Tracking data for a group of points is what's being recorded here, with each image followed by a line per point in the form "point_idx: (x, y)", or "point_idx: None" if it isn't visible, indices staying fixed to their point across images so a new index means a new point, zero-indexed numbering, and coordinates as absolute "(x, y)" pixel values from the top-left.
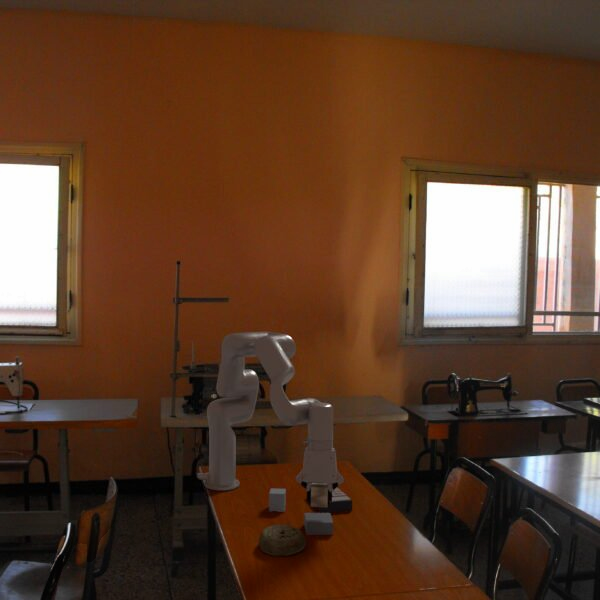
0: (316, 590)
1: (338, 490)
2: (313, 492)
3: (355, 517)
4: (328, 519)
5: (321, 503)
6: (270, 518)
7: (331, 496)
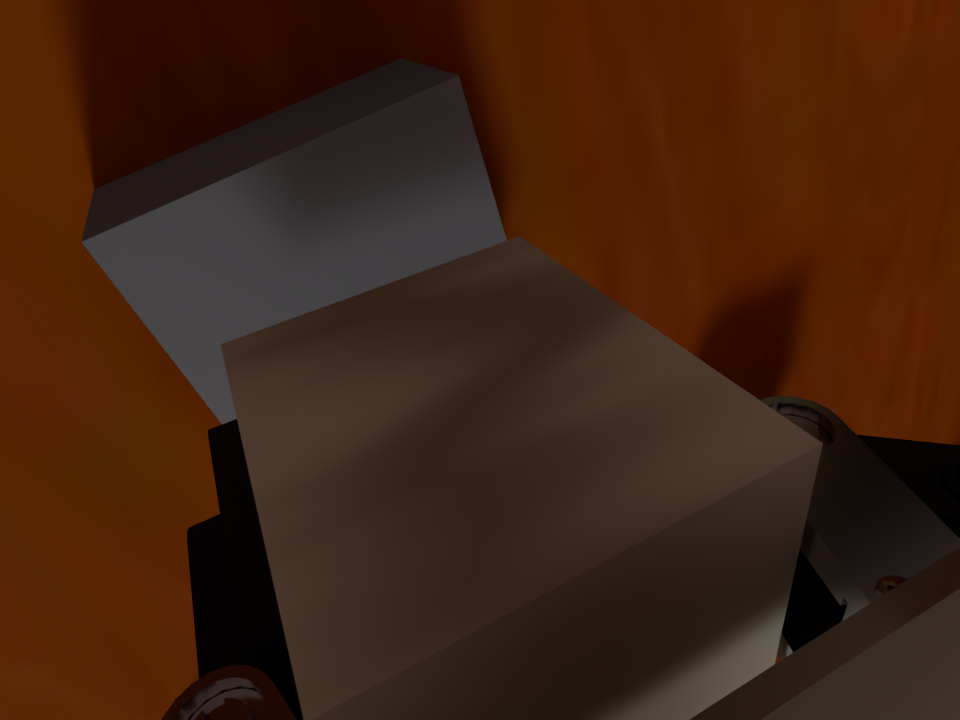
0: None
1: None
2: (649, 387)
3: (99, 668)
4: (211, 317)
5: (356, 333)
6: (737, 298)
7: (205, 595)
